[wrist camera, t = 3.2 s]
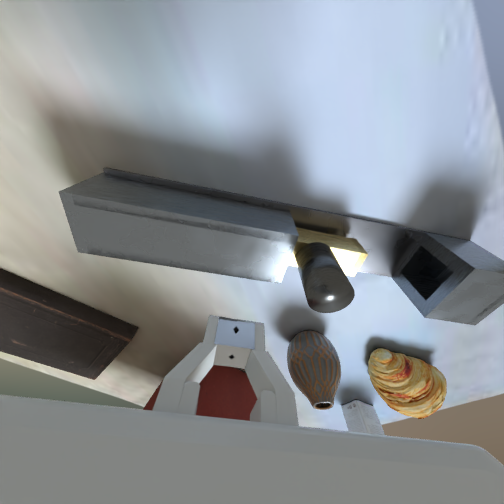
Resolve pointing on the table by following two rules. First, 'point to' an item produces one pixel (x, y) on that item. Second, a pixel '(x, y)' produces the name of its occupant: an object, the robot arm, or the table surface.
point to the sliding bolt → (327, 268)
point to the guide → (272, 240)
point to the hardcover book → (57, 328)
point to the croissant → (407, 383)
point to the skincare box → (362, 418)
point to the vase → (314, 368)
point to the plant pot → (221, 394)
